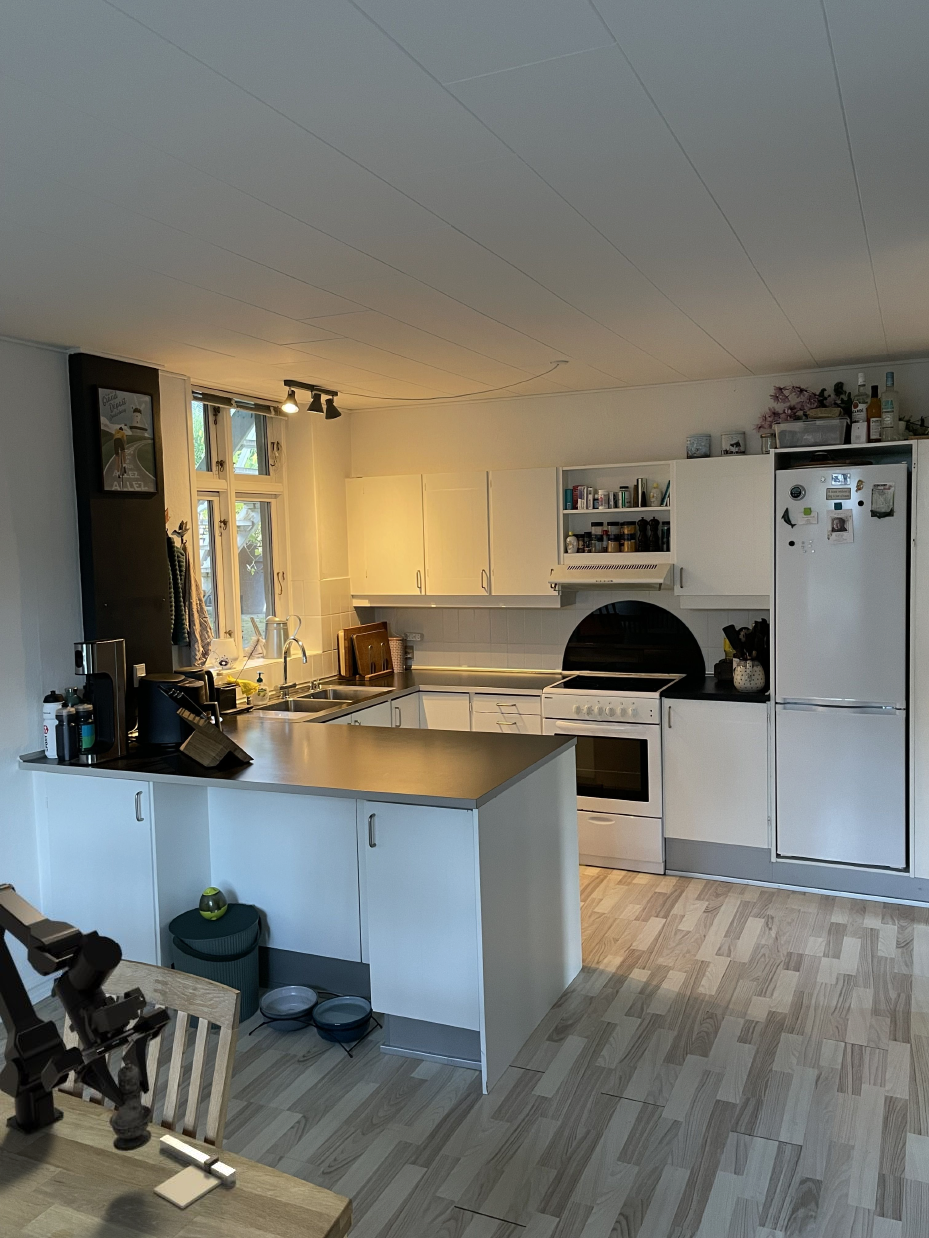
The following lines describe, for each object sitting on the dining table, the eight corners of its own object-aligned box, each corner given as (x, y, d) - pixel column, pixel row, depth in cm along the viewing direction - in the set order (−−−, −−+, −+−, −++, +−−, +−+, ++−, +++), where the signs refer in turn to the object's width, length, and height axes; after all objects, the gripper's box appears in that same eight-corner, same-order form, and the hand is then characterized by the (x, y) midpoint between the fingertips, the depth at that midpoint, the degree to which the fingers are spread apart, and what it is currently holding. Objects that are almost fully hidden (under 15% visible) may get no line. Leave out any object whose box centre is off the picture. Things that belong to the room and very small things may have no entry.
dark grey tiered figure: (101, 1145, 141) (96, 1065, 140) (133, 1124, 146) (128, 1046, 145) (131, 1156, 138) (126, 1074, 137) (162, 1133, 143) (157, 1054, 142)
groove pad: (153, 1191, 139) (153, 1188, 139) (192, 1167, 144) (192, 1164, 144) (182, 1208, 135) (182, 1205, 135) (221, 1182, 140) (220, 1180, 140)
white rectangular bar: (158, 1148, 149) (157, 1136, 149) (169, 1142, 151) (168, 1130, 150) (226, 1185, 139) (226, 1172, 139) (237, 1178, 141) (236, 1165, 141)
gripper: (46, 1002, 135) (96, 1103, 129) (160, 954, 150) (210, 1043, 144) (20, 1041, 140) (67, 1140, 135) (133, 991, 155) (180, 1079, 149)
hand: (135, 1098), depth 140 cm, fingers closed on dark grey tiered figure, 4 cm apart
